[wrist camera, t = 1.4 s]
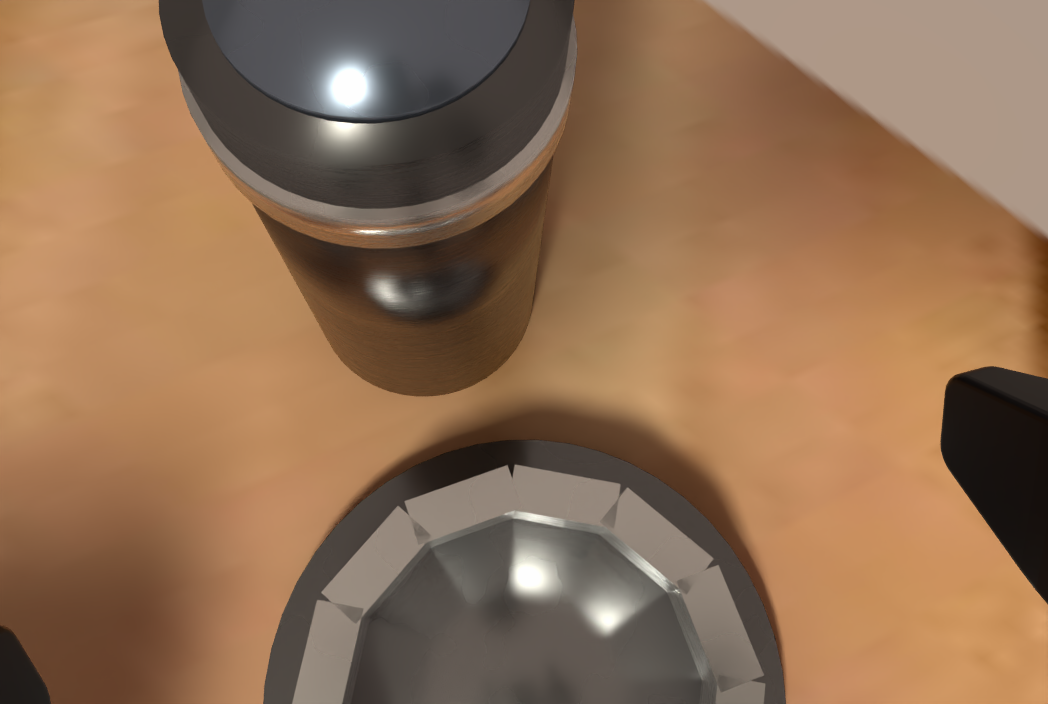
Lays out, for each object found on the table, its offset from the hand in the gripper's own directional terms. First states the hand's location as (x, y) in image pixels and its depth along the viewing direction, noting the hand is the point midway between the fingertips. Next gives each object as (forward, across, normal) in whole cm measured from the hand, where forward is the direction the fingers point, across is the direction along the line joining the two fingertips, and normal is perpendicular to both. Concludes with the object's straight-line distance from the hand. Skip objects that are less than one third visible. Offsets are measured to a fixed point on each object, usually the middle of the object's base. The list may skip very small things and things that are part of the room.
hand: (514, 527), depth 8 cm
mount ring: (+7, 0, +11) cm, 13 cm away
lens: (+15, 0, +4) cm, 15 cm away
